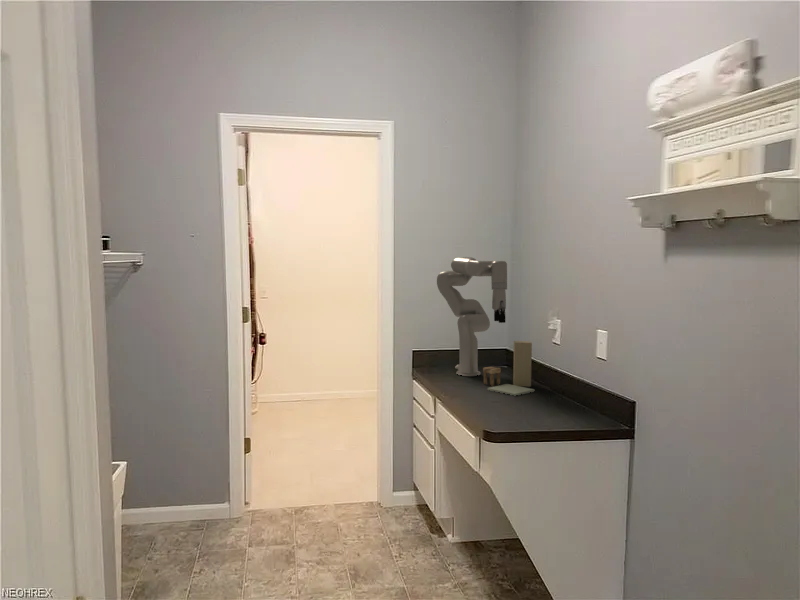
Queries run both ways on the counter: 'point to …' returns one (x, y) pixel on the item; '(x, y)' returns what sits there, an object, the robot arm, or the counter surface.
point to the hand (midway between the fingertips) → (499, 321)
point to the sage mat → (511, 389)
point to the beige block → (522, 363)
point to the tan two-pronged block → (492, 374)
